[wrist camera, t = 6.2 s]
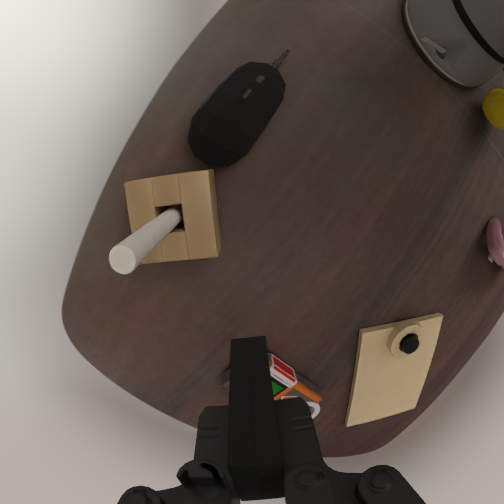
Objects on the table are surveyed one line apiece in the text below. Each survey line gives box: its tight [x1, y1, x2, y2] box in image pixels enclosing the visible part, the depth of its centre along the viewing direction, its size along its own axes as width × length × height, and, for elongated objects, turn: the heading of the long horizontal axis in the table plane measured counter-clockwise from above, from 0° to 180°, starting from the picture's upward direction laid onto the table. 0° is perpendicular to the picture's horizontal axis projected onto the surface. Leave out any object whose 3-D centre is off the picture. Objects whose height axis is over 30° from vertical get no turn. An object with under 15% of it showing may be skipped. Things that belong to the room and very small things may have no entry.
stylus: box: [109, 204, 183, 274], centre depth 22 cm, size 2×2×16 cm
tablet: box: [345, 312, 443, 427], centre depth 36 cm, size 13×20×2 cm, turn 5°
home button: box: [400, 334, 419, 354], centre depth 32 cm, size 2×2×1 cm
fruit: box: [482, 88, 504, 129], centre depth 22 cm, size 6×6×8 cm
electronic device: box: [221, 352, 322, 419], centre depth 35 cm, size 7×3×15 cm
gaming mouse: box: [188, 49, 290, 167], centre depth 24 cm, size 6×15×4 cm, turn 145°
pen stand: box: [124, 169, 221, 264], centre depth 27 cm, size 8×8×5 cm
